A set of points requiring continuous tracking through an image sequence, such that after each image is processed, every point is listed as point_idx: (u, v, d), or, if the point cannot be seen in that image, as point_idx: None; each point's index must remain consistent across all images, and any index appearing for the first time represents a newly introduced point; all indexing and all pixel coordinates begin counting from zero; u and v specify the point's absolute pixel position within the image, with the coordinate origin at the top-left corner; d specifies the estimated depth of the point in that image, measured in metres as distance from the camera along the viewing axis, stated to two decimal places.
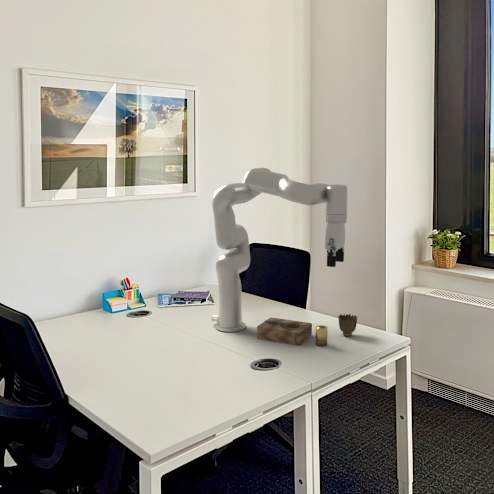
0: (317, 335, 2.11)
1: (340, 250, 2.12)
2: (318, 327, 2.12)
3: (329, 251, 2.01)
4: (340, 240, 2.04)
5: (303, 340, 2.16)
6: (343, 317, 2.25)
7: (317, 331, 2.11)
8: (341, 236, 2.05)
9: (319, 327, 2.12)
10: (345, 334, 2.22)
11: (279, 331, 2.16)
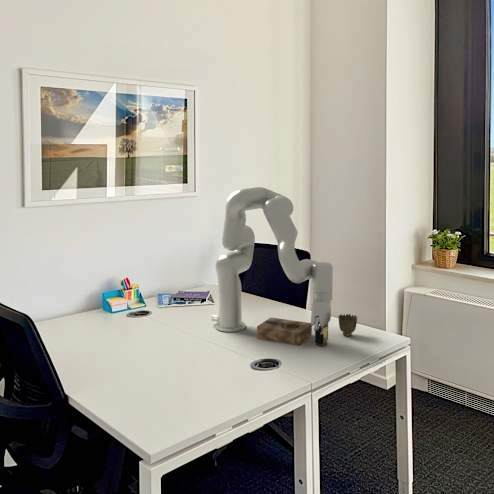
0: None
1: None
2: (318, 327, 2.12)
3: None
4: (326, 317, 2.09)
5: (303, 340, 2.16)
6: (343, 317, 2.25)
7: None
8: (327, 313, 2.09)
9: None
10: (345, 334, 2.22)
11: (279, 331, 2.16)
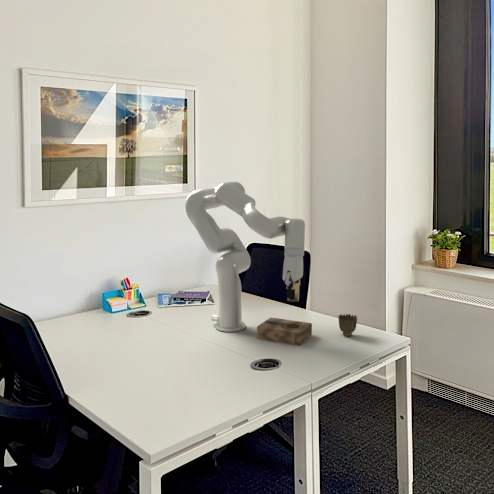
0: None
1: None
2: (290, 283, 2.16)
3: None
4: (297, 272, 2.13)
5: (303, 340, 2.16)
6: (343, 317, 2.25)
7: None
8: (298, 268, 2.13)
9: (291, 283, 2.16)
10: (345, 334, 2.22)
11: (279, 331, 2.16)
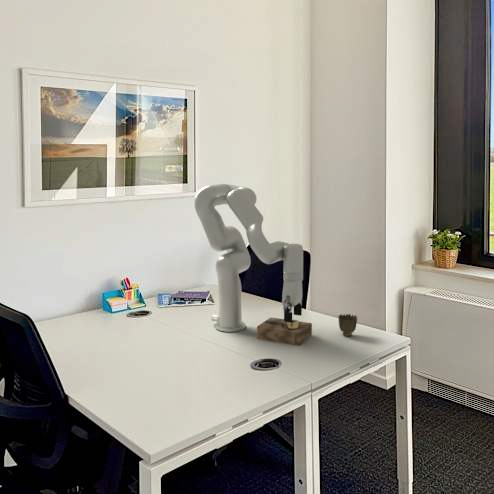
0: None
1: (298, 304, 2.23)
2: None
3: (285, 308, 2.11)
4: (296, 297, 2.15)
5: (303, 340, 2.16)
6: (343, 317, 2.25)
7: (288, 325, 2.18)
8: (297, 293, 2.15)
9: None
10: (345, 334, 2.22)
11: (279, 331, 2.16)
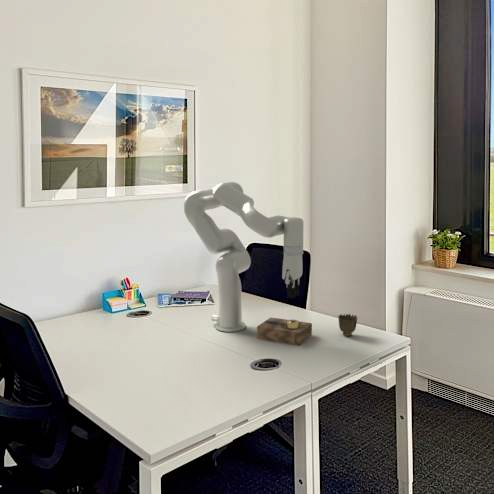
0: None
1: (295, 283, 2.18)
2: (289, 321, 2.19)
3: None
4: (297, 271, 2.13)
5: (303, 340, 2.16)
6: (343, 317, 2.25)
7: (288, 325, 2.18)
8: (298, 267, 2.13)
9: (290, 321, 2.19)
10: (345, 334, 2.22)
11: (279, 331, 2.16)
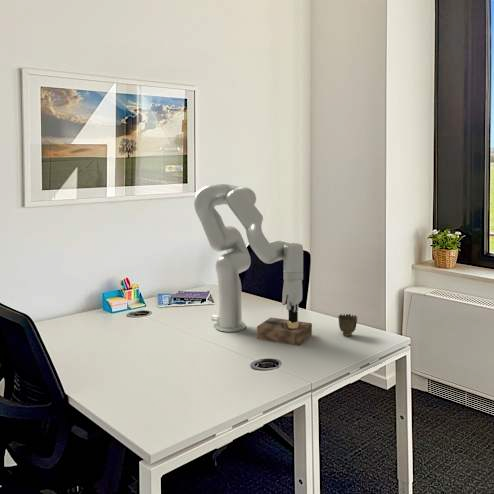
0: None
1: None
2: (289, 321, 2.19)
3: None
4: (296, 296, 2.15)
5: (303, 340, 2.16)
6: (343, 317, 2.25)
7: (288, 325, 2.18)
8: (297, 292, 2.15)
9: (290, 321, 2.19)
10: (345, 334, 2.22)
11: (279, 331, 2.16)
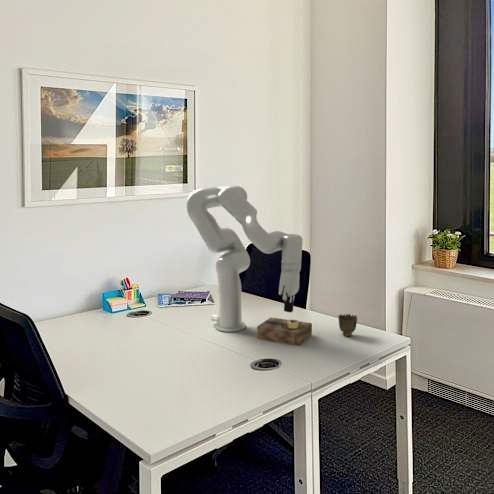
0: None
1: None
2: (289, 321, 2.19)
3: None
4: (293, 287, 2.16)
5: (303, 340, 2.16)
6: (343, 317, 2.25)
7: (288, 325, 2.18)
8: (294, 283, 2.16)
9: (290, 321, 2.19)
10: (345, 334, 2.22)
11: (279, 331, 2.16)
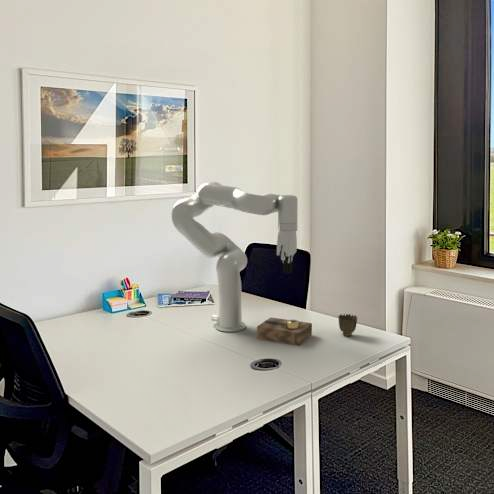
0: None
1: None
2: (289, 321, 2.19)
3: None
4: (291, 247, 2.18)
5: (303, 340, 2.16)
6: (343, 317, 2.25)
7: (288, 325, 2.18)
8: (292, 243, 2.18)
9: (290, 321, 2.19)
10: (345, 334, 2.22)
11: (279, 331, 2.16)
